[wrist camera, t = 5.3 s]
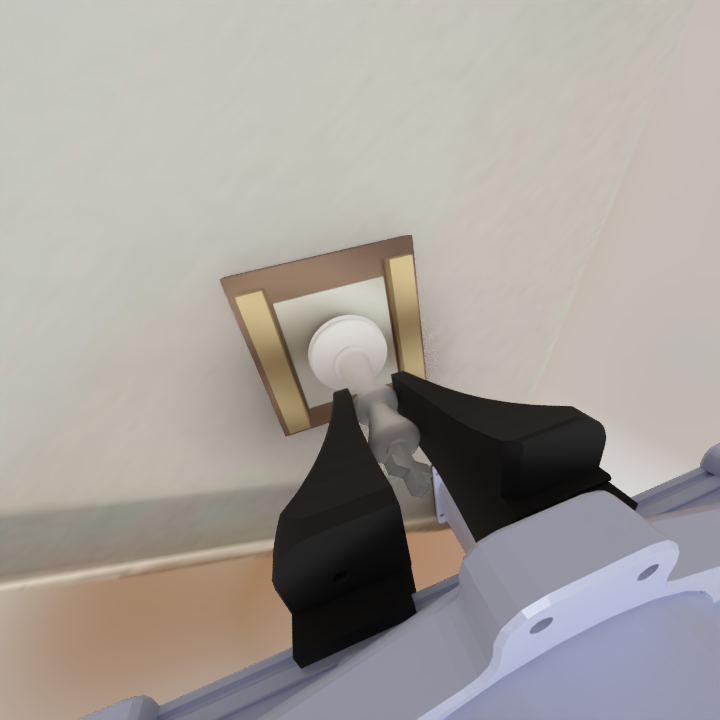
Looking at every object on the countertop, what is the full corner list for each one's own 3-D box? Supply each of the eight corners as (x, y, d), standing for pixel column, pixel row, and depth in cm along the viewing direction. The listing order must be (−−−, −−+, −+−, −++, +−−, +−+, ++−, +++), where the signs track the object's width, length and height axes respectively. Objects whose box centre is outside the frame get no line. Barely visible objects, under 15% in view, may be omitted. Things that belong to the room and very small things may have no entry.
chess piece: (359, 395, 18) (429, 547, 10) (293, 369, 16) (309, 536, 8) (399, 336, 17) (520, 451, 8) (333, 299, 15) (407, 404, 6)
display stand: (421, 383, 23) (434, 397, 21) (285, 427, 22) (285, 447, 19) (404, 235, 18) (420, 234, 16) (224, 277, 16) (214, 282, 14)
